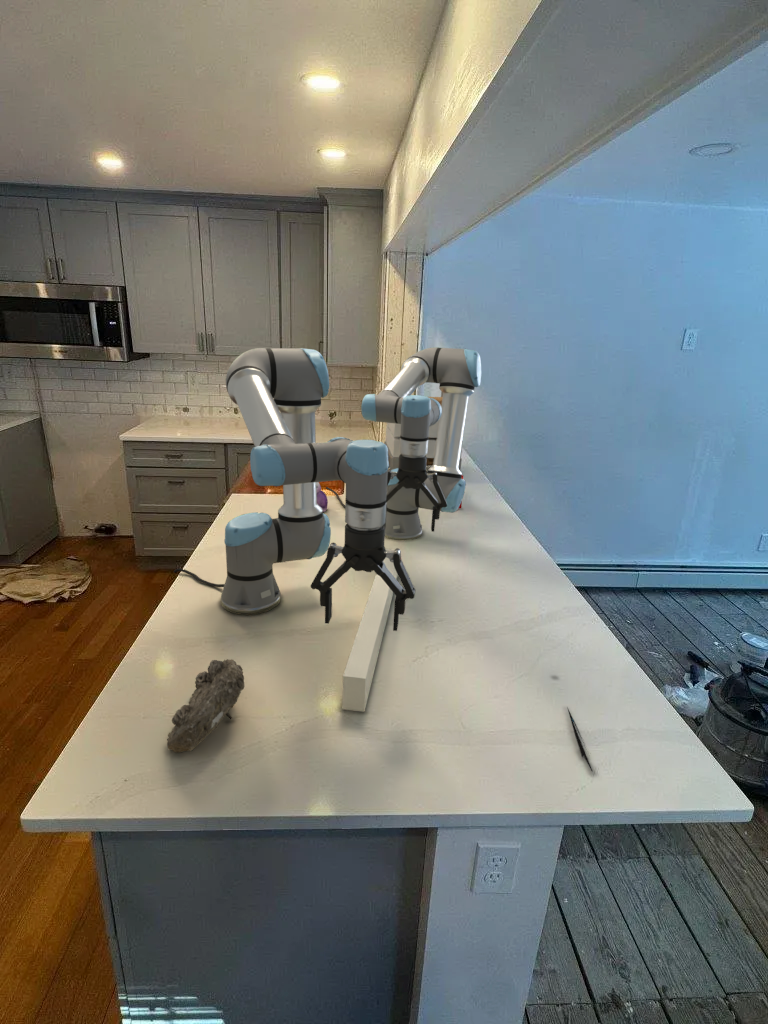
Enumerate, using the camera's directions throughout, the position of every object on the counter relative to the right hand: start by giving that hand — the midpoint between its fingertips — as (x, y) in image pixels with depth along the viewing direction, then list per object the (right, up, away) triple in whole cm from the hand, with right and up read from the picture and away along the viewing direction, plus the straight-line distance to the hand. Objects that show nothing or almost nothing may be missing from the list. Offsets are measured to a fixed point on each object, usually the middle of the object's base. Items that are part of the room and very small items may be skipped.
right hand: (408, 528), depth 159 cm
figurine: (-33, +5, +60) cm, 68 cm away
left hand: (-11, -18, -46) cm, 51 cm away
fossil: (-40, -34, -51) cm, 73 cm away
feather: (+30, -36, -47) cm, 67 cm away
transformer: (+10, +24, +116) cm, 119 cm away
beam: (-9, -24, -18) cm, 31 cm away
